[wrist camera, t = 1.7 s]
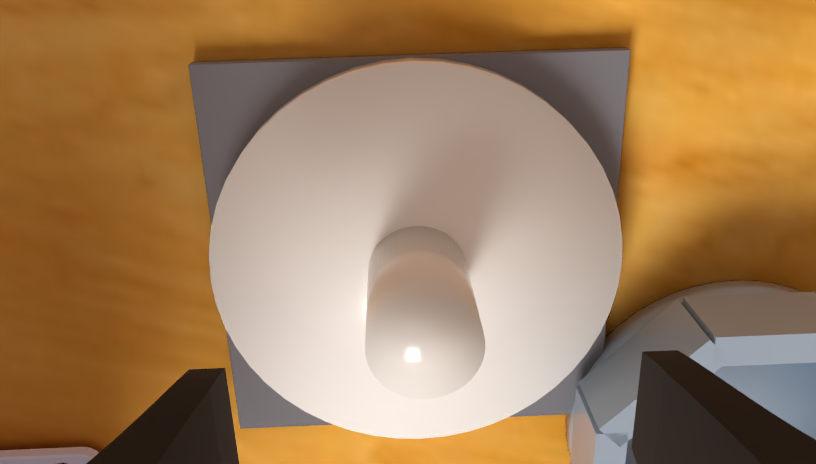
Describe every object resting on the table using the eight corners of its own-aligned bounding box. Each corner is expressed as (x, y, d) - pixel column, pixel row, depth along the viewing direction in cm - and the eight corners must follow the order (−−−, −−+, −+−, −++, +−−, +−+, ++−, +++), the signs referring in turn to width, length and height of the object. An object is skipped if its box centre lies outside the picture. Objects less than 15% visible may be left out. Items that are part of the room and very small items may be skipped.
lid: (240, 427, 20) (206, 549, 16) (189, 64, 16) (127, 108, 12) (597, 412, 21) (649, 529, 17) (630, 50, 17) (708, 90, 13)
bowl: (557, 533, 23) (580, 611, 20) (574, 286, 19) (604, 342, 17) (830, 520, 23) (887, 596, 20) (894, 273, 20) (971, 326, 17)
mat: (242, 419, 21) (240, 428, 20) (192, 61, 17) (188, 64, 16) (594, 404, 21) (597, 413, 21) (624, 47, 17) (630, 50, 17)
